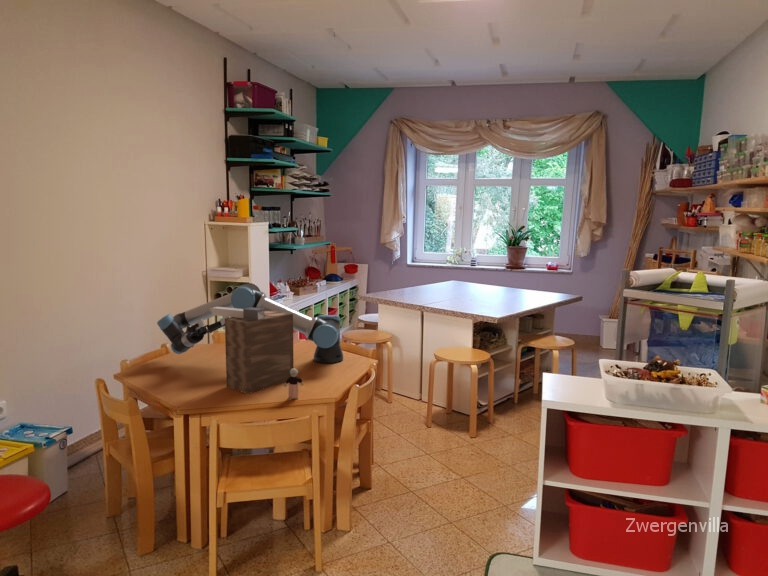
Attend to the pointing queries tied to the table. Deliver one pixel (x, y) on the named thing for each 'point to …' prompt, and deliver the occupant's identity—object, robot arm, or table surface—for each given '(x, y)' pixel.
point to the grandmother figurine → (293, 384)
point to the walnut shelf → (259, 351)
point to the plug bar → (239, 312)
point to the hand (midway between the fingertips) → (216, 319)
